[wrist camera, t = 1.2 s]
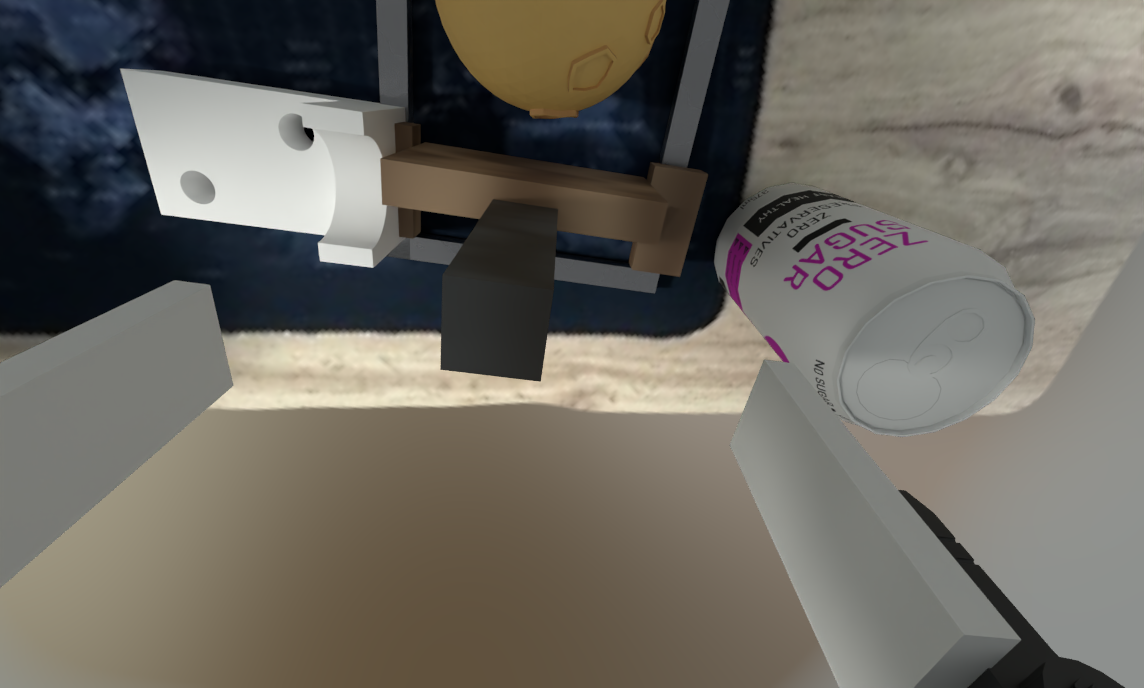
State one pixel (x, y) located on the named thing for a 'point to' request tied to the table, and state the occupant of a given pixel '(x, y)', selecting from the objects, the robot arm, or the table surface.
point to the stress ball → (552, 48)
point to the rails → (675, 150)
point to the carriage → (527, 237)
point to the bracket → (269, 159)
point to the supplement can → (874, 308)
